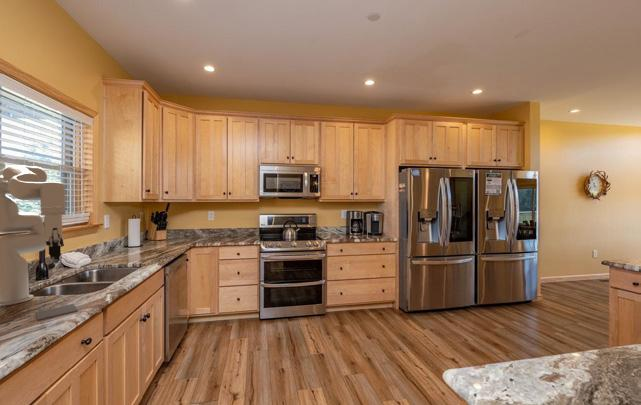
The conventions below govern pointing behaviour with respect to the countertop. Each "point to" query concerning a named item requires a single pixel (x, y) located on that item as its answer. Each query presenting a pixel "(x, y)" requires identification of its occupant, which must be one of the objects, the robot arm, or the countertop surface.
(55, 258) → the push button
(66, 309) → the charcoal mat
